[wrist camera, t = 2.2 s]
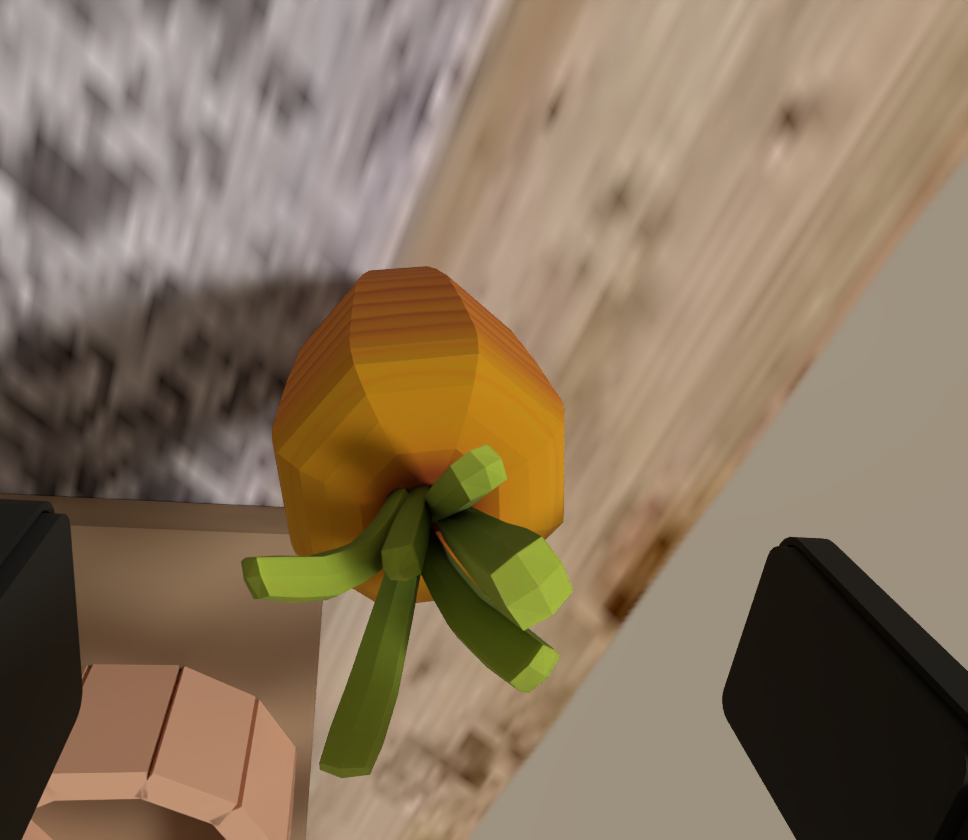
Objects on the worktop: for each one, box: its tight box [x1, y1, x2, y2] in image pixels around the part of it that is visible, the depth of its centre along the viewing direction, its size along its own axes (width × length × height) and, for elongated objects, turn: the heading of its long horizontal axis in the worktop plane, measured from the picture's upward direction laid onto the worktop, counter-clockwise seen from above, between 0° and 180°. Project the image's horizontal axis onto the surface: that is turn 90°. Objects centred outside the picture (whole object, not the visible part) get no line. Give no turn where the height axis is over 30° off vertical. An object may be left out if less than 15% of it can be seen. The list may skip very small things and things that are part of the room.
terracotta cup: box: [22, 664, 297, 840], centre depth 24 cm, size 10×10×4 cm
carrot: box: [241, 266, 573, 778], centre depth 15 cm, size 5×5×15 cm
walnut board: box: [0, 494, 323, 840], centre depth 26 cm, size 20×11×2 cm, turn 172°
